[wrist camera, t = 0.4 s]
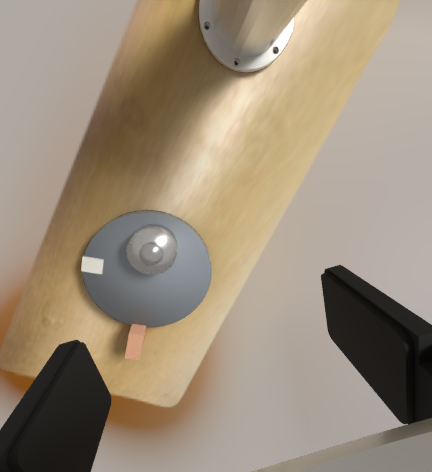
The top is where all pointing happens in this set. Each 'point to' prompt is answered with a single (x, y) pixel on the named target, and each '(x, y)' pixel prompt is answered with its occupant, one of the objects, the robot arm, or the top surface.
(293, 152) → the top surface
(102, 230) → the turntable
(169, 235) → the cover
